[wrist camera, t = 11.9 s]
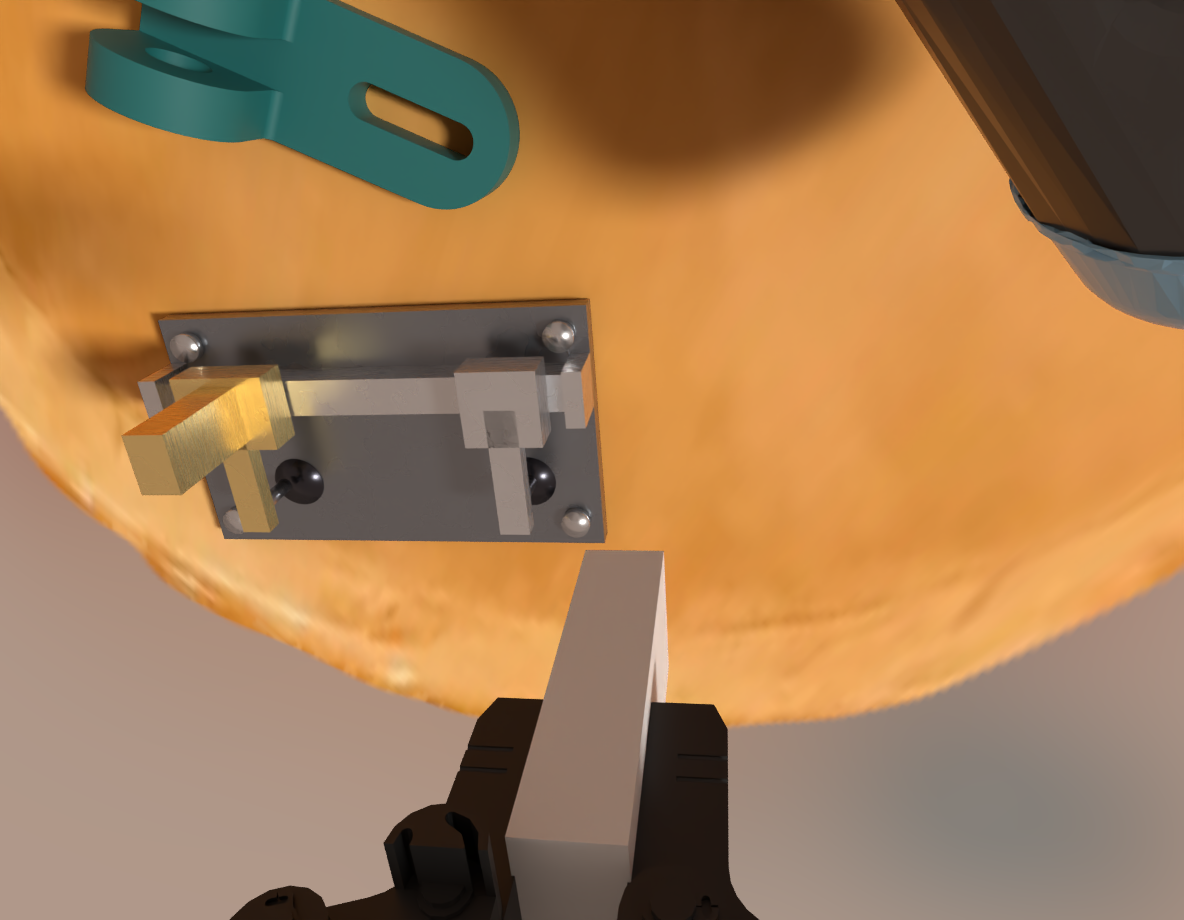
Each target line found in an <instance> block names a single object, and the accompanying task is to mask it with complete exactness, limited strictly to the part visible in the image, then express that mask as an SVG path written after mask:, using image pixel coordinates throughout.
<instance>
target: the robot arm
mask: <svg viewBox="0 0 1184 920" xmlns="http://www.w3.org/2000/svg"><path fill="white" fill-rule="evenodd" d="M895 1H896V2H897V4H898V5H899V7H900V9H901V10H902V12H903V13H904V15H905V16H906V18H907V19H908V21H909V22H910V24H911V26H912V27H913V29H914V30H915V32H916V33H917V35H918V36H919V38H920V40H921V41H922V43H923V44H924V46H925V47H926V49H927V50H928V52H929V53H930V55H931V57H932V58H933V60H934V61H935V63H936V64H937V66H938V67H939V69H940V71H941V72H942V74H943V75H944V77H945V78H946V80H947V81H948V83H949V84H950V86H951V88H952V89H953V91H954V92H955V94H956V95H957V97H958V98H959V100H960V101H961V103H962V105H963V106H964V108H965V109H966V111H967V112H968V114H969V115H970V117H971V119H972V120H973V122H974V123H975V125H976V126H977V128H978V129H979V131H980V132H981V134H982V136H983V137H984V139H985V140H986V142H987V143H988V145H989V146H990V148H991V150H992V151H993V153H994V154H995V156H996V157H997V159H998V160H999V162H1000V163H1001V165H1002V167H1003V168H1004V170H1005V171H1006V173H1007V174H1008V176H1009V177H1010V179H1009V184H1010V189H1011V192H1012V195H1013V197H1014V200H1015V202H1016V204H1017V206H1018V207H1019V209H1020V211H1021V213H1022V214H1023V215H1024V216H1025V218H1026V219H1027V220H1028V221H1031V222H1033V224H1034V225H1035V227H1036V228H1037V230H1038V231H1039V232H1040V233H1042V234H1043V235H1045V236H1046V237H1048V238H1050V239H1051V240H1052V241H1053V243H1054V244H1055V245H1056V247H1057V248H1058V249H1059V251H1060V252H1061V254H1062V255H1063V256H1064V258H1065V259H1066V260H1067V262H1068V263H1069V265H1070V266H1071V267H1072V269H1073V270H1074V272H1075V273H1076V274H1077V276H1078V277H1079V278H1080V279H1081V281H1082V282H1083V283H1084V285H1085V286H1086V287H1087V288H1088V289H1089V290H1090V291H1091V292H1093V293H1094V294H1096V295H1097V296H1098V297H1099V298H1101V299H1102V300H1103V301H1105V302H1106V303H1108V304H1109V305H1111V306H1112V307H1113V308H1115V309H1117V310H1119V311H1121V312H1123V313H1125V314H1128V315H1130V316H1133V317H1135V318H1138V319H1141V320H1144V321H1147V322H1150V323H1154V324H1158V325H1162V326H1167V327H1172V328H1177V329H1183V330H1184V0H895ZM668 667H669V664H668V640H667V617H666V593H665V570H664V551H621V550H586V551H585V554H584V558H583V561H582V565H581V568H580V572H579V576H578V579H577V583H576V586H575V590H574V593H573V597H572V600H571V604H570V608H569V611H568V615H567V618H566V622H565V625H564V629H563V632H562V636H561V640H560V643H559V647H558V650H557V654H556V657H555V661H554V664H553V668H552V671H551V675H550V679H549V682H548V686H547V689H546V693H545V696H544V700H543V699H519V698H497V699H496V700H495V701H494V702H493V703H492V704H491V706H490V707H489V708H488V709H487V710H486V711H485V712H484V713H483V714H482V715H481V716H480V717H479V718H478V719H477V722H476V725H475V727H474V730H473V733H472V735H471V738H470V741H469V744H468V750H466V752H465V754H464V757H463V759H462V762H461V765H460V771H459V772H458V773H457V775H456V778H455V781H454V784H453V786H452V789H451V792H450V794H449V797H448V800H447V802H446V804H437V805H430V806H427V807H425V808H423V809H420V810H418V811H415V812H413V813H411V814H410V815H408V816H407V817H406V818H405V819H403V820H402V821H401V822H400V823H398V824H397V825H396V826H395V827H394V828H393V830H392V831H391V833H390V834H389V836H388V837H387V839H386V840H385V842H384V846H385V851H386V854H387V859H388V862H389V866H390V870H391V874H392V878H393V882H394V885H395V887H393V888H391V889H389V890H387V891H386V892H383V893H380V894H377V895H374V896H371V897H368V898H364V899H360V900H355V901H351V902H347V903H342V904H338V905H334V906H329V907H326V906H325V904H324V902H323V900H322V897H321V896H319V895H318V894H316V893H315V892H313V891H312V890H311V889H309V888H305V887H296V886H286V887H283V888H278V889H273V890H269V891H267V892H266V893H264V894H262V895H260V896H258V897H256V898H254V899H253V900H251V901H249V902H248V903H247V904H246V905H245V906H243V907H242V908H241V909H240V910H239V911H238V912H237V913H236V914H235V915H234V916H233V917H232V918H231V919H230V920H759V919H758V918H756V917H755V916H754V915H753V914H752V913H751V912H749V911H748V910H747V909H746V908H745V906H744V905H743V904H742V902H741V901H740V900H739V898H738V897H737V895H736V893H735V891H734V888H733V886H732V884H731V881H730V874H729V865H728V864H729V862H728V729H727V727H726V725H725V724H724V722H723V720H722V718H721V716H720V715H719V713H718V711H717V709H716V707H715V706H714V705H710V704H686V703H665V700H666V689H667V678H668Z"/></svg>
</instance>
